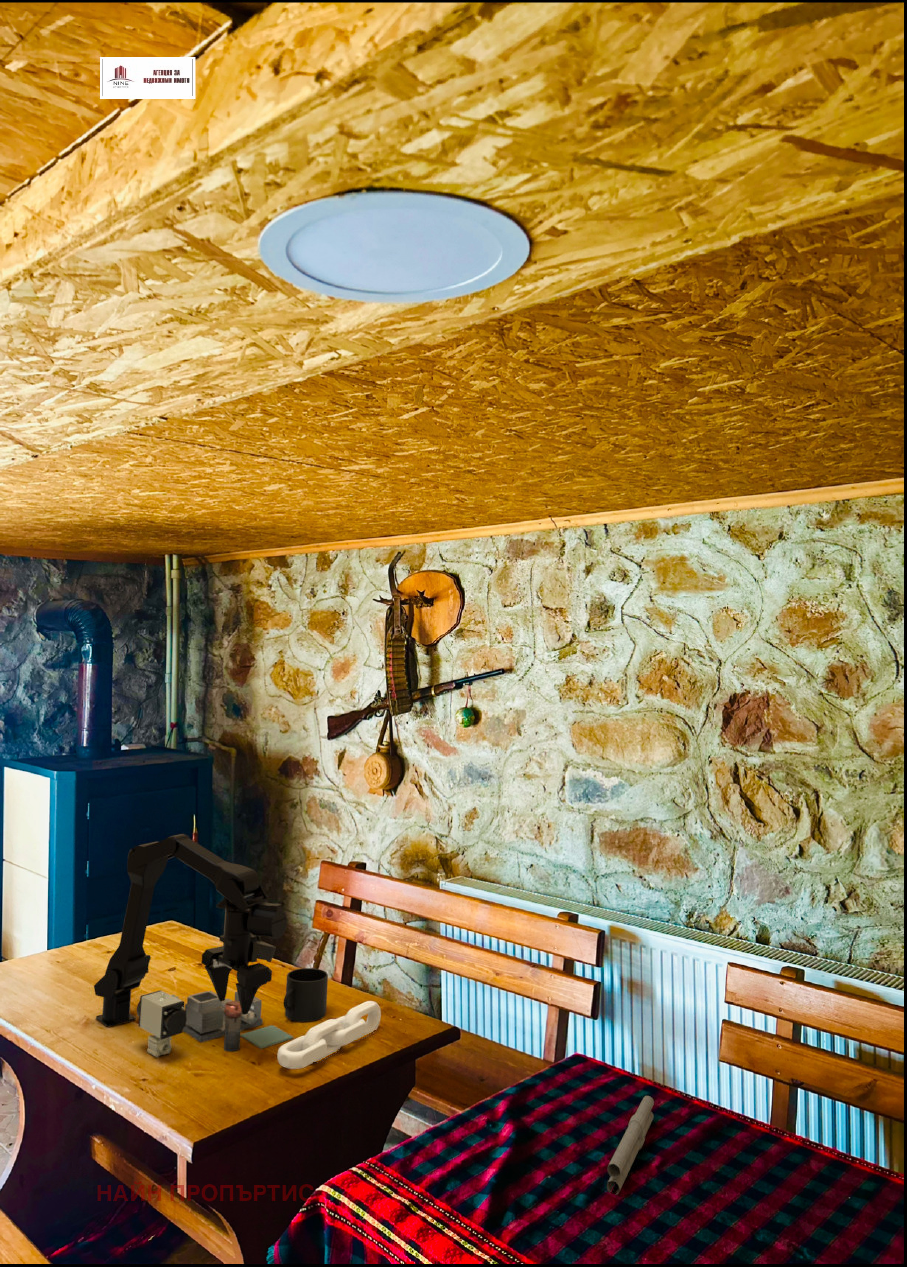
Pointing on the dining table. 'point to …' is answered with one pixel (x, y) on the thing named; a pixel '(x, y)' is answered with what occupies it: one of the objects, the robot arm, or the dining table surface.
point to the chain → (329, 1036)
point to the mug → (306, 994)
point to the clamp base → (246, 1020)
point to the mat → (266, 1036)
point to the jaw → (204, 1012)
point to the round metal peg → (232, 1026)
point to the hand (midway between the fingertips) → (233, 1007)
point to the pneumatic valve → (161, 1020)
